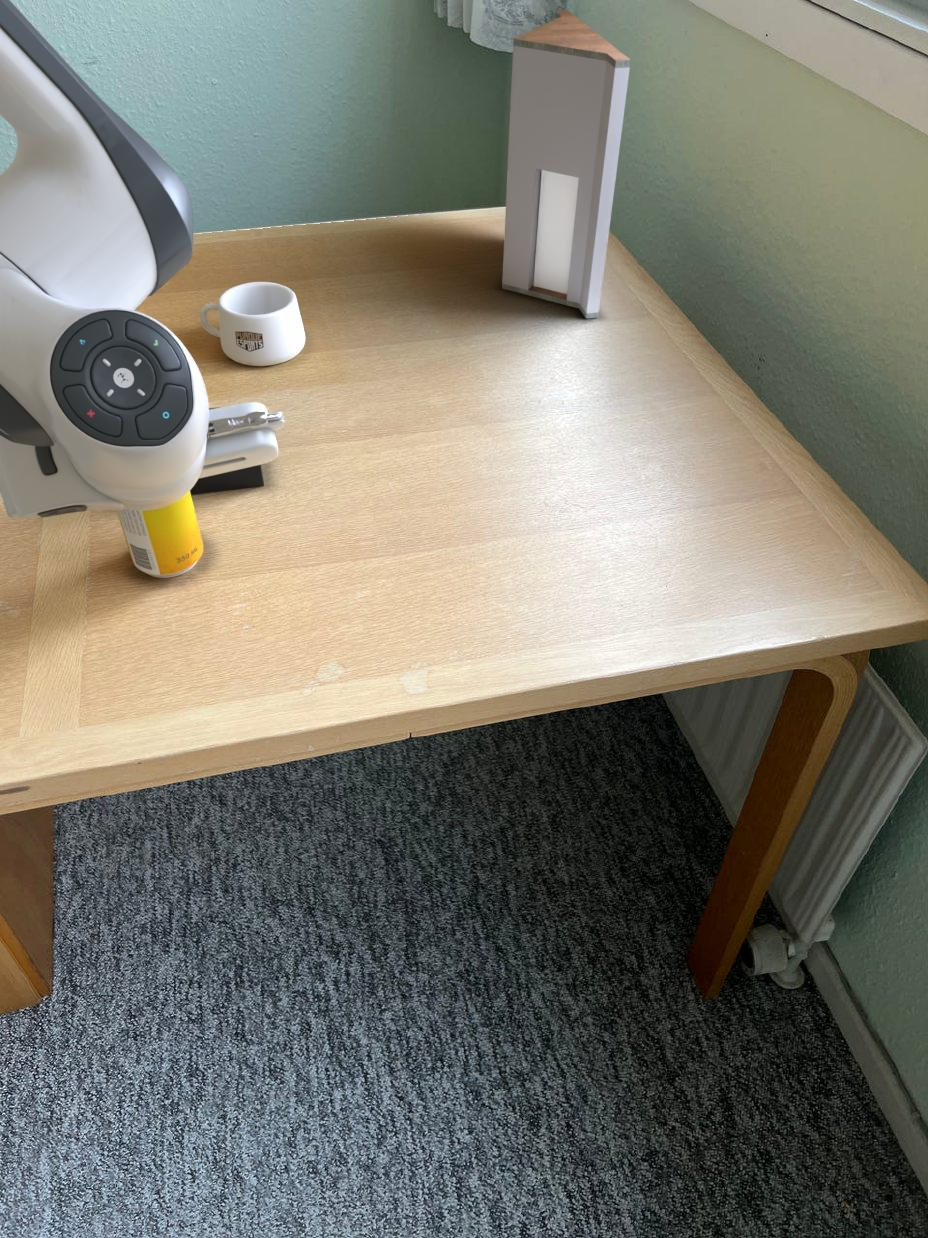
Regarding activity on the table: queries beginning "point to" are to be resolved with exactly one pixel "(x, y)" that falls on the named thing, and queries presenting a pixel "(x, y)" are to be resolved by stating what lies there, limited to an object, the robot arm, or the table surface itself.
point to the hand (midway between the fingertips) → (146, 478)
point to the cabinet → (562, 161)
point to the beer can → (163, 538)
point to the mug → (258, 323)
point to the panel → (230, 480)
